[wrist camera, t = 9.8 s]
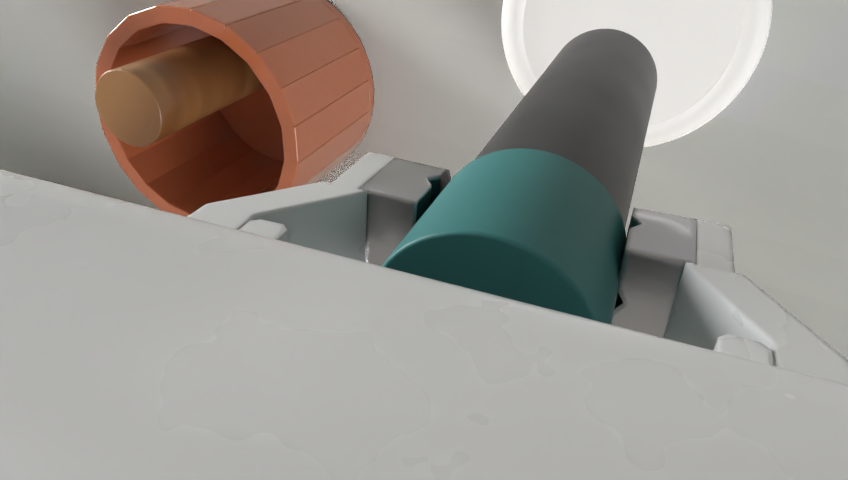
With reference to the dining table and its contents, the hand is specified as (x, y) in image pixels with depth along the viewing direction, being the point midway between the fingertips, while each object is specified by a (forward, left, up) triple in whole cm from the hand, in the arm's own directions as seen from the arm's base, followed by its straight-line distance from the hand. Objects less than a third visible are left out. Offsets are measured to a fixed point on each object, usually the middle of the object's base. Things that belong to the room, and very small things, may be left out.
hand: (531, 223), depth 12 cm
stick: (-12, -12, -20) cm, 26 cm away
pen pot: (-11, -14, -21) cm, 27 cm away
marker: (0, 0, -10) cm, 10 cm away
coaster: (0, 0, -21) cm, 21 cm away
